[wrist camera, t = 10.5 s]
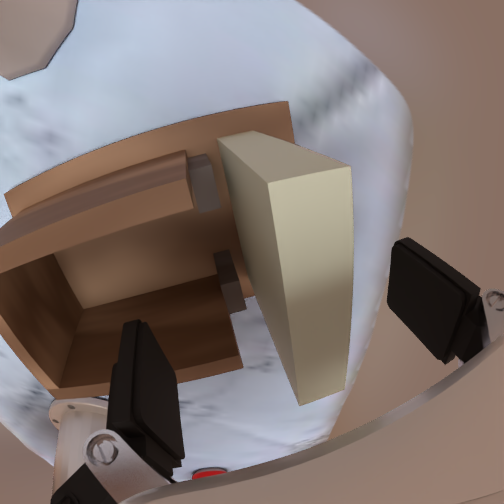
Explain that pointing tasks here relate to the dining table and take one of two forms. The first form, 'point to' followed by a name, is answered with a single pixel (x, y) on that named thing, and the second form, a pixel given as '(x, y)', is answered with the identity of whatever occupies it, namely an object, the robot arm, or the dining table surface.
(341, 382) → the block
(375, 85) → the dining table surface
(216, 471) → the beer can
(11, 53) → the flask
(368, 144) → the dining table surface
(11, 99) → the dining table surface
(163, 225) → the cabinet
